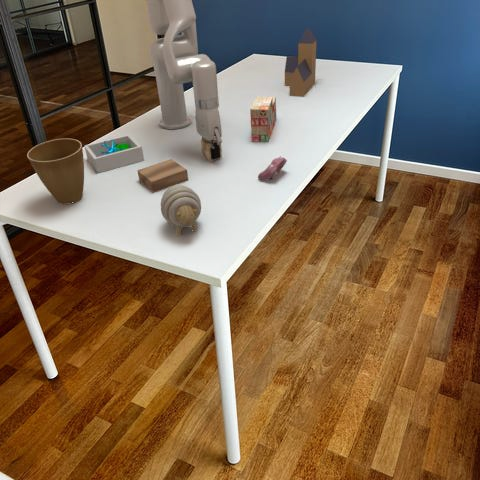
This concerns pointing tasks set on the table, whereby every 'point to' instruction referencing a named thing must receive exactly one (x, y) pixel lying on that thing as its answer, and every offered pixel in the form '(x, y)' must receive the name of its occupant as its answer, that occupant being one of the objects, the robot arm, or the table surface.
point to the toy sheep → (180, 207)
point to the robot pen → (113, 154)
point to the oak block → (208, 149)
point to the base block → (162, 175)
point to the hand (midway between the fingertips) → (212, 154)
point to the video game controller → (272, 169)
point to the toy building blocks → (302, 66)
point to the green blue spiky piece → (115, 147)
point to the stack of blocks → (263, 118)
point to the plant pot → (60, 168)
